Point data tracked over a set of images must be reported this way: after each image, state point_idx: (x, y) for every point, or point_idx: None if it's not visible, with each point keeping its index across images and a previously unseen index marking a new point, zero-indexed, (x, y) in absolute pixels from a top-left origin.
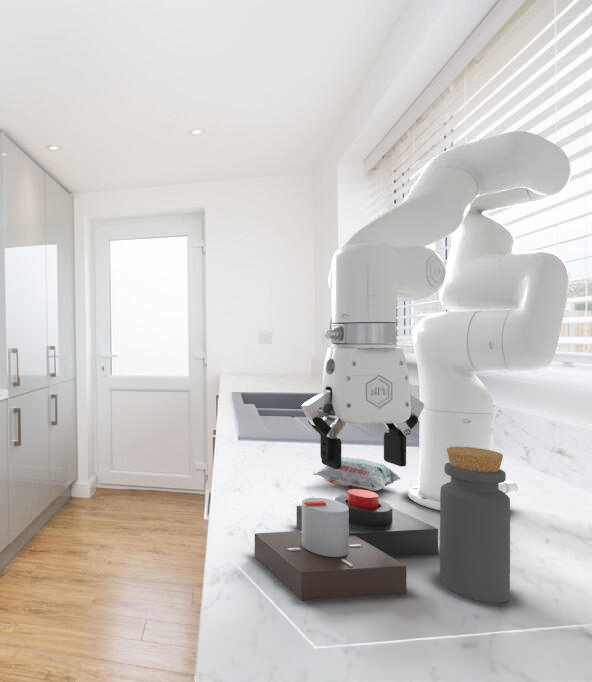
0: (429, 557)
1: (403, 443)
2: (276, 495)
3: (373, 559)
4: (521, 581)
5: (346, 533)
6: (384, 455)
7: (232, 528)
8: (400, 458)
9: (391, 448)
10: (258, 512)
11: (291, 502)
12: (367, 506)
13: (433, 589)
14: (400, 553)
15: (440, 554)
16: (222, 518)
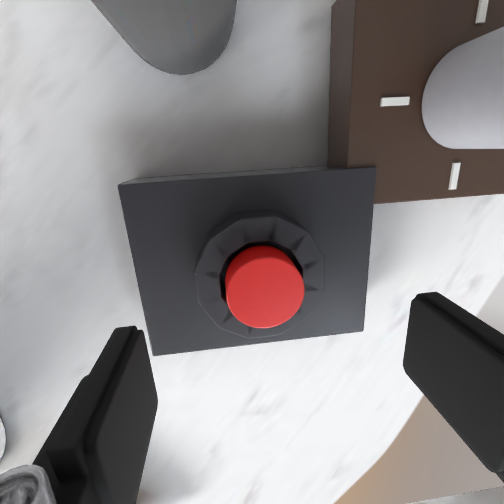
0: (164, 165)
1: (90, 406)
2: (283, 450)
3: (407, 21)
4: (34, 33)
5: (497, 30)
6: (153, 417)
7: (457, 304)
8: (134, 346)
9: (134, 423)
10: (367, 372)
11: (275, 419)
12: (273, 250)
13: (262, 20)
14: (225, 172)
15: (229, 21)
16: None
